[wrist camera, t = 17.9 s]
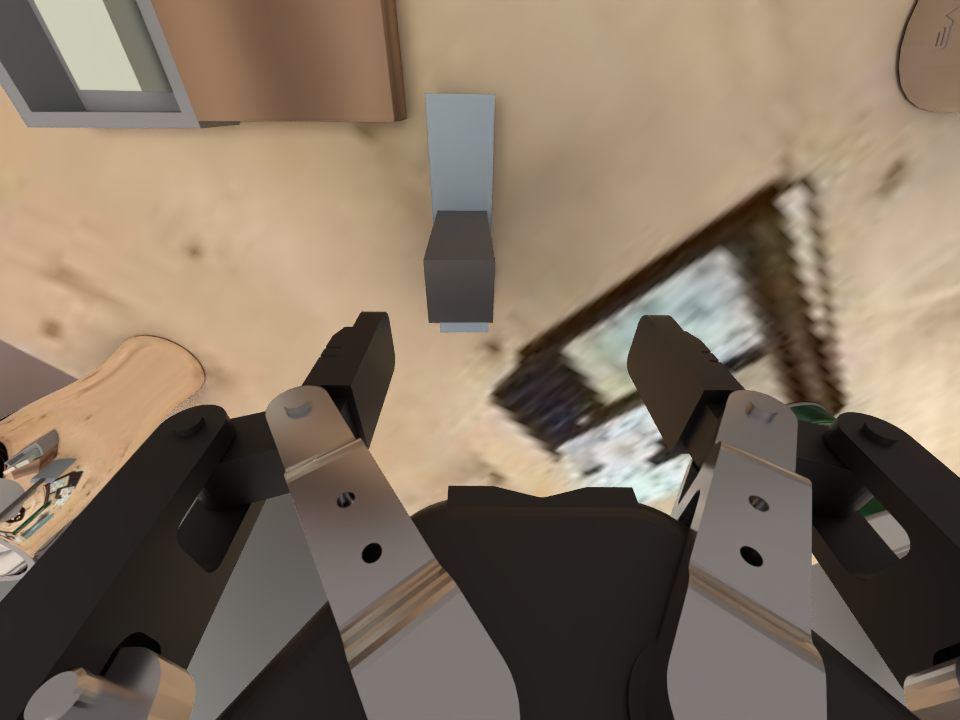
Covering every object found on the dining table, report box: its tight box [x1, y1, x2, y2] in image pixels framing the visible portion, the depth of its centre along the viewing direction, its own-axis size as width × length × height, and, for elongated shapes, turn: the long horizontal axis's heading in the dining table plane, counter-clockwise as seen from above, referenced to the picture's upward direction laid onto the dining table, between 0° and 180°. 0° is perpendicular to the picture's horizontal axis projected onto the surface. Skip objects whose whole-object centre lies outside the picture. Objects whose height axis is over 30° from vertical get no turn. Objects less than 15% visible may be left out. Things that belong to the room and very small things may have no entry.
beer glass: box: [0, 336, 205, 581], centre depth 23 cm, size 7×7×15 cm
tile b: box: [34, 0, 173, 93], centre depth 15 cm, size 4×4×2 cm
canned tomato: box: [786, 402, 910, 554], centre depth 31 cm, size 8×8×11 cm
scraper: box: [423, 93, 495, 332], centre depth 18 cm, size 3×12×12 cm, turn 179°
